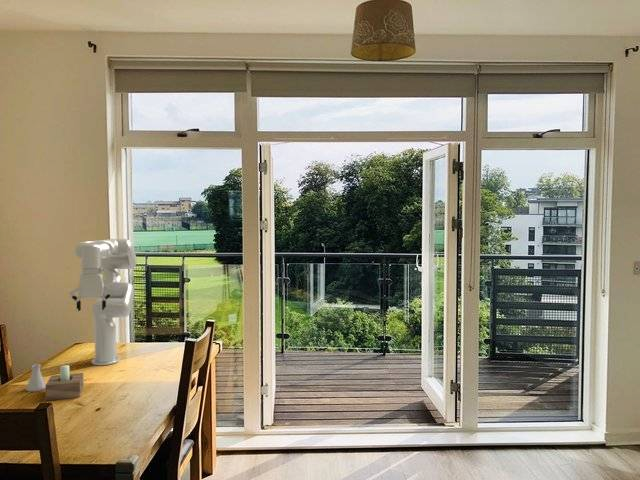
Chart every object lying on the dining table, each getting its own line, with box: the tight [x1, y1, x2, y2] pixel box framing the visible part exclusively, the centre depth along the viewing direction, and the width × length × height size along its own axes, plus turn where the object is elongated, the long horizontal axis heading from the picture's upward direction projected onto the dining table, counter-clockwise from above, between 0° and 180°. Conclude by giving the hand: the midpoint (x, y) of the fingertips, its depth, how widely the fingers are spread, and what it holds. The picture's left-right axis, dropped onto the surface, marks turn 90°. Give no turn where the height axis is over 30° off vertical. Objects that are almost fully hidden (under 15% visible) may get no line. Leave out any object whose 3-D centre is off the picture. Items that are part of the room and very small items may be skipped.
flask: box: [25, 363, 47, 393], centre depth 201 cm, size 7×7×10 cm
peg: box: [59, 364, 71, 381], centre depth 197 cm, size 3×3×10 cm
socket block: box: [45, 372, 84, 401], centre depth 197 cm, size 12×12×6 cm
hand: (91, 309), depth 216 cm, fingers open, 9 cm apart
